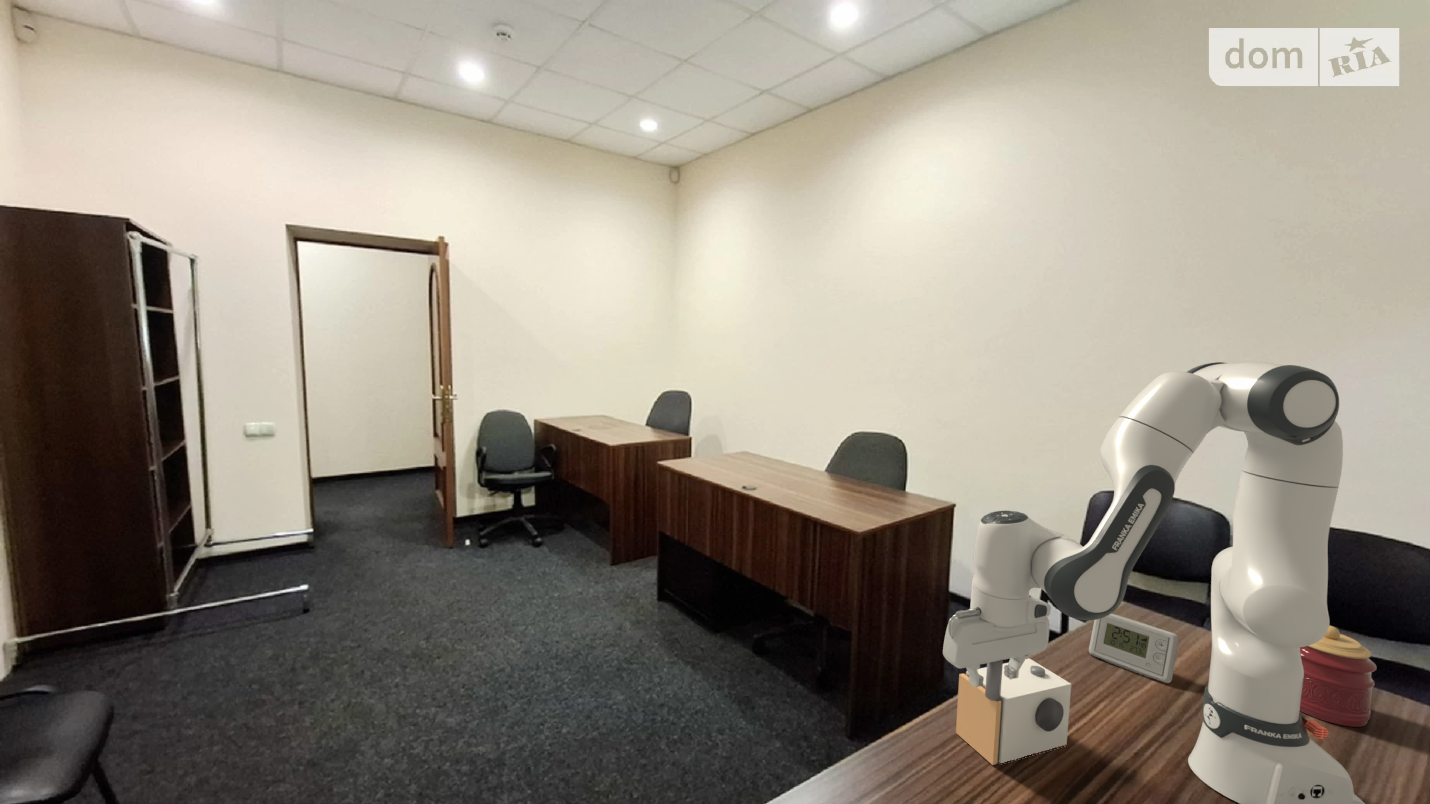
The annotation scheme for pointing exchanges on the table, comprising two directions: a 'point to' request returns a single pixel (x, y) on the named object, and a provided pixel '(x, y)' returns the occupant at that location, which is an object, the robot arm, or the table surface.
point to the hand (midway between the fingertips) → (993, 681)
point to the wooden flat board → (981, 712)
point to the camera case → (1031, 711)
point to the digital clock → (1135, 646)
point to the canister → (1337, 680)
